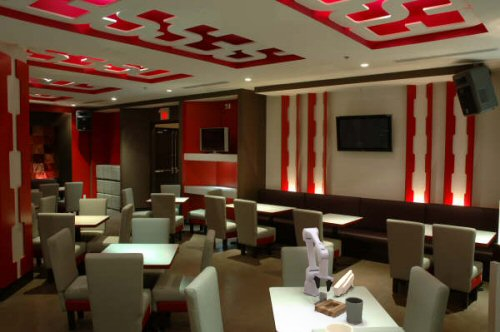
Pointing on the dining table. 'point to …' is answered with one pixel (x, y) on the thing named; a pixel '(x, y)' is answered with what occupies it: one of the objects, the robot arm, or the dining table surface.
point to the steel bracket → (322, 297)
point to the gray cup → (354, 309)
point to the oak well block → (331, 307)
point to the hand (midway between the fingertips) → (323, 289)
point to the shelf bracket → (344, 283)
